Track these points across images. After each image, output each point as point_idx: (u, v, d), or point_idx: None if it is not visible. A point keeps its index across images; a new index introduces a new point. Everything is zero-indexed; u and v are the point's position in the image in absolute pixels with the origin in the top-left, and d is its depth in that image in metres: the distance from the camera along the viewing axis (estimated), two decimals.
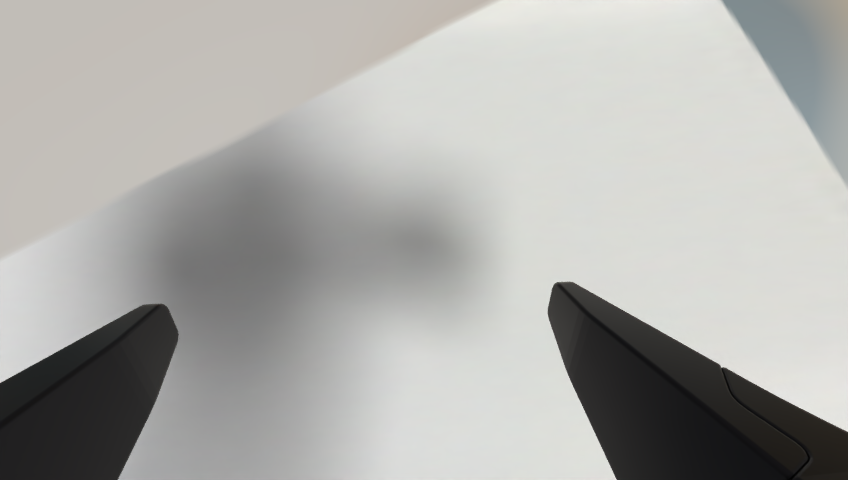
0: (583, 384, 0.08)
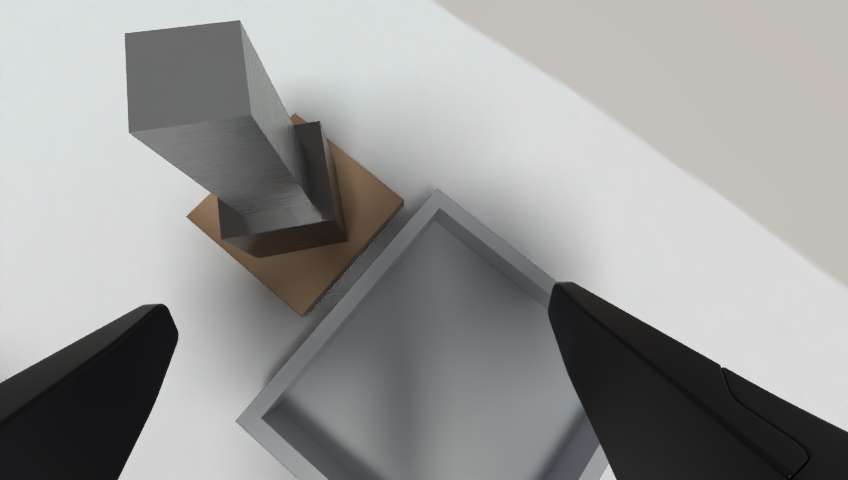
0: (583, 384, 0.08)
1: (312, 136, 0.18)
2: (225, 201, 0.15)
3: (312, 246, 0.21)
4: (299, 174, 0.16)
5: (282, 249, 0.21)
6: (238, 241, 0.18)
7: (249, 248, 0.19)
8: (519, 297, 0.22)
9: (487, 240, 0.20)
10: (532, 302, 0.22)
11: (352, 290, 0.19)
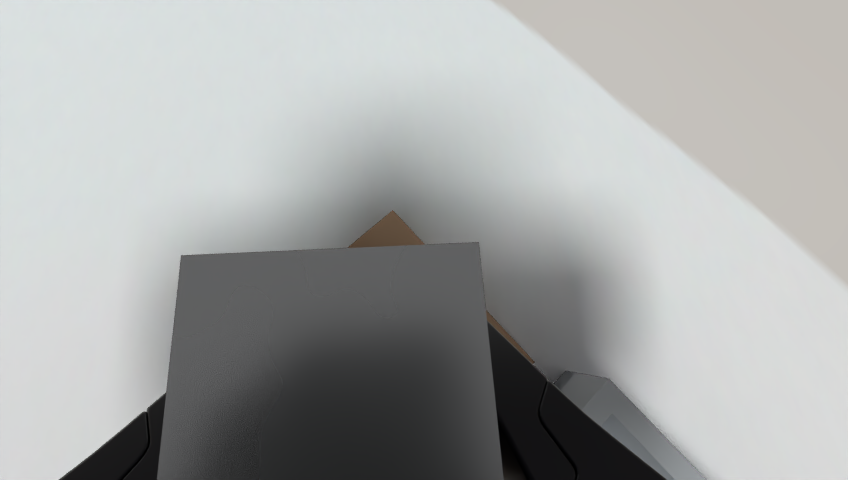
0: None
1: None
2: None
3: None
4: None
5: None
6: None
7: None
8: None
9: None
10: None
11: None
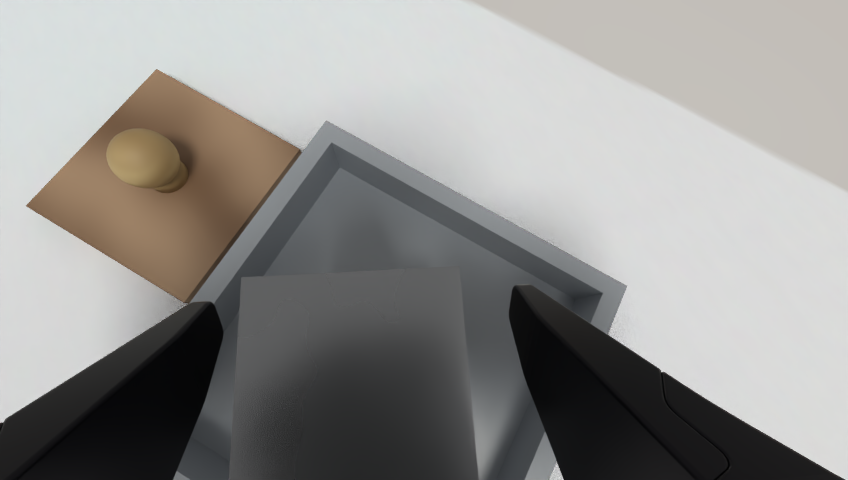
0: (537, 388, 0.08)
1: None
2: None
3: None
4: None
5: None
6: None
7: None
8: (451, 240, 0.18)
9: (394, 171, 0.16)
10: (467, 243, 0.18)
11: (229, 254, 0.15)
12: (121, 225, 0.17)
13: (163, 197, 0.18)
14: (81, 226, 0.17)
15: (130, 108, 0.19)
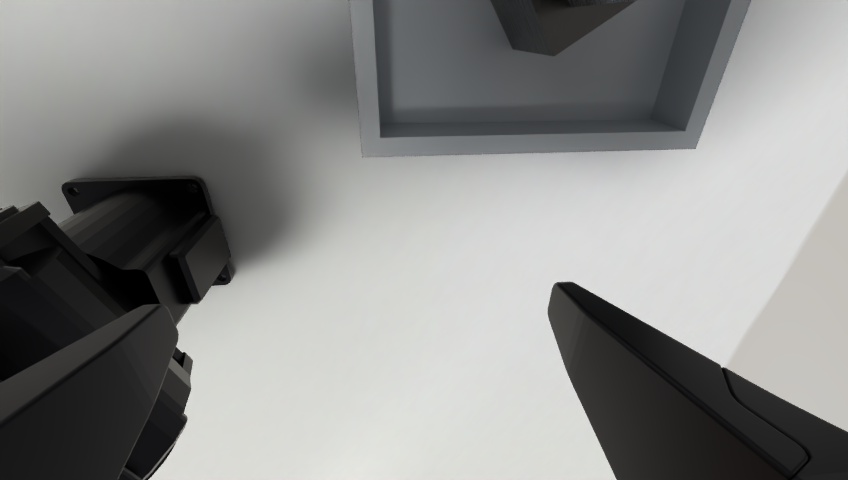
0: (583, 384, 0.08)
1: None
2: None
3: (494, 3, 0.15)
4: None
5: None
6: None
7: None
8: None
9: None
10: None
11: None
12: None
13: None
14: None
15: None
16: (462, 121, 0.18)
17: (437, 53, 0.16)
